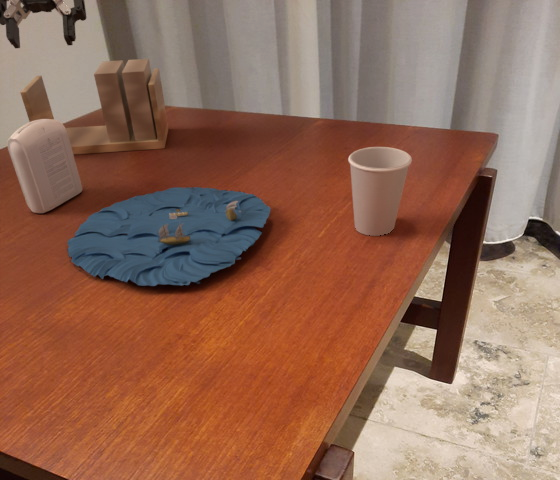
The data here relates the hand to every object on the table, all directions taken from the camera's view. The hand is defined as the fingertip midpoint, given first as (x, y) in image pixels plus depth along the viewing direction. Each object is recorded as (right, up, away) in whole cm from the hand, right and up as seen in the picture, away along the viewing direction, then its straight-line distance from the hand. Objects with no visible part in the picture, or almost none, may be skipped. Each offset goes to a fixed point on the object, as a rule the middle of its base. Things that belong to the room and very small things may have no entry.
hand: (41, 43), depth 90 cm
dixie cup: (+52, -33, -10) cm, 62 cm away
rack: (+4, -7, +22) cm, 24 cm away
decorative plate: (+23, -34, -10) cm, 43 cm away
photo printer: (+2, -25, +1) cm, 26 cm away
